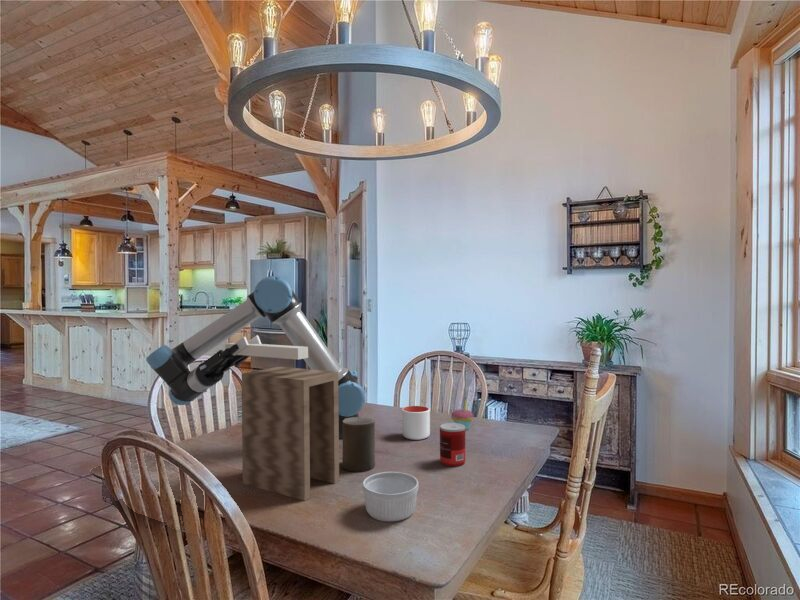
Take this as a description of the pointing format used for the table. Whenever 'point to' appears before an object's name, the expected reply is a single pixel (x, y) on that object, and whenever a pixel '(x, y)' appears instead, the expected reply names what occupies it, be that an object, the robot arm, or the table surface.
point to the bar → (273, 351)
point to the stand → (290, 429)
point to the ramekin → (390, 495)
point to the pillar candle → (358, 444)
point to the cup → (416, 422)
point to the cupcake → (462, 416)
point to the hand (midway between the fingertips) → (252, 340)
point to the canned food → (452, 444)
